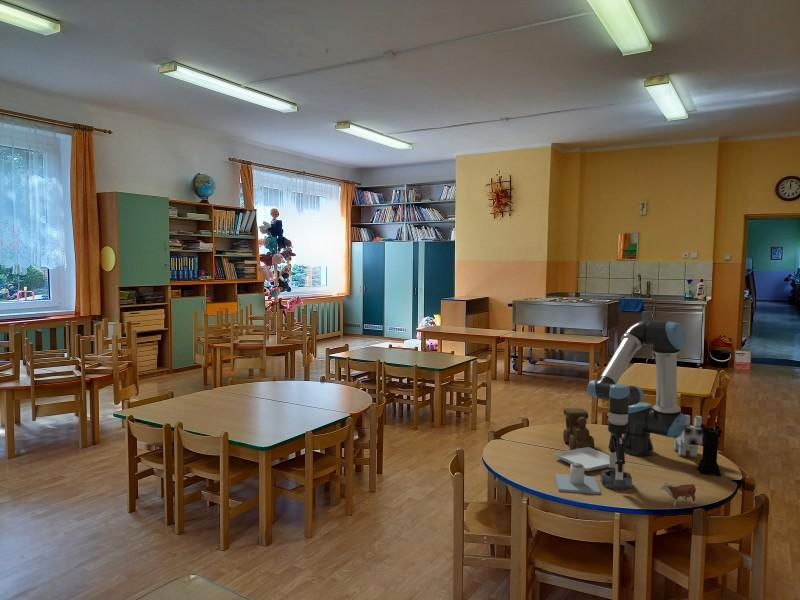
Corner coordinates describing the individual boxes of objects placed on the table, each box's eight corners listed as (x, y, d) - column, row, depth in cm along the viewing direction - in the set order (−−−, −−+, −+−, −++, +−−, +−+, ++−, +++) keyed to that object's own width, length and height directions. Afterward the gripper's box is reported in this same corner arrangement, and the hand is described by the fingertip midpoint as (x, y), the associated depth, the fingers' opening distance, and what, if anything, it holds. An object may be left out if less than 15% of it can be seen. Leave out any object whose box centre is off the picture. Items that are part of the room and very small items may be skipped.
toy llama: (688, 448, 282) (691, 408, 280) (700, 461, 265) (703, 418, 263) (671, 447, 283) (674, 407, 281) (683, 459, 266) (686, 417, 264)
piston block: (593, 479, 243) (594, 459, 242) (600, 494, 227) (601, 473, 226) (554, 476, 245) (555, 456, 245) (558, 491, 230) (559, 470, 229)
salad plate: (586, 475, 247) (586, 467, 247) (553, 459, 266) (553, 452, 266) (622, 468, 256) (622, 460, 256) (588, 453, 275) (588, 446, 275)
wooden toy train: (560, 439, 295) (561, 407, 294) (583, 439, 295) (584, 407, 294) (572, 452, 275) (573, 418, 274) (596, 453, 275) (597, 419, 274)
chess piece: (717, 469, 254) (719, 425, 253) (721, 476, 247) (723, 430, 245) (697, 467, 257) (699, 423, 255) (700, 473, 249) (702, 428, 248)
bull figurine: (658, 501, 221) (659, 480, 220) (692, 500, 222) (693, 479, 221) (664, 506, 217) (665, 485, 216) (698, 505, 218) (699, 484, 217)
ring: (627, 479, 242) (627, 470, 242) (633, 490, 231) (634, 481, 230) (598, 477, 244) (599, 468, 244) (603, 488, 233) (604, 478, 232)
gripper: (603, 414, 248) (600, 462, 250) (614, 430, 224) (611, 484, 225) (621, 415, 247) (619, 463, 248) (634, 431, 222) (632, 485, 224)
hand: (615, 473), depth 237 cm, fingers open, 13 cm apart
